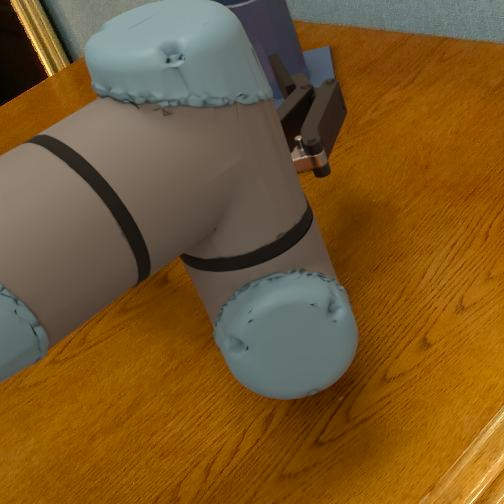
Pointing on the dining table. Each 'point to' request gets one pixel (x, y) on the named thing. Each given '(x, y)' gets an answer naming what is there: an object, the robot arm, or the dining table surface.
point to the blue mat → (316, 67)
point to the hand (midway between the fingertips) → (194, 98)
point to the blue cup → (270, 35)
